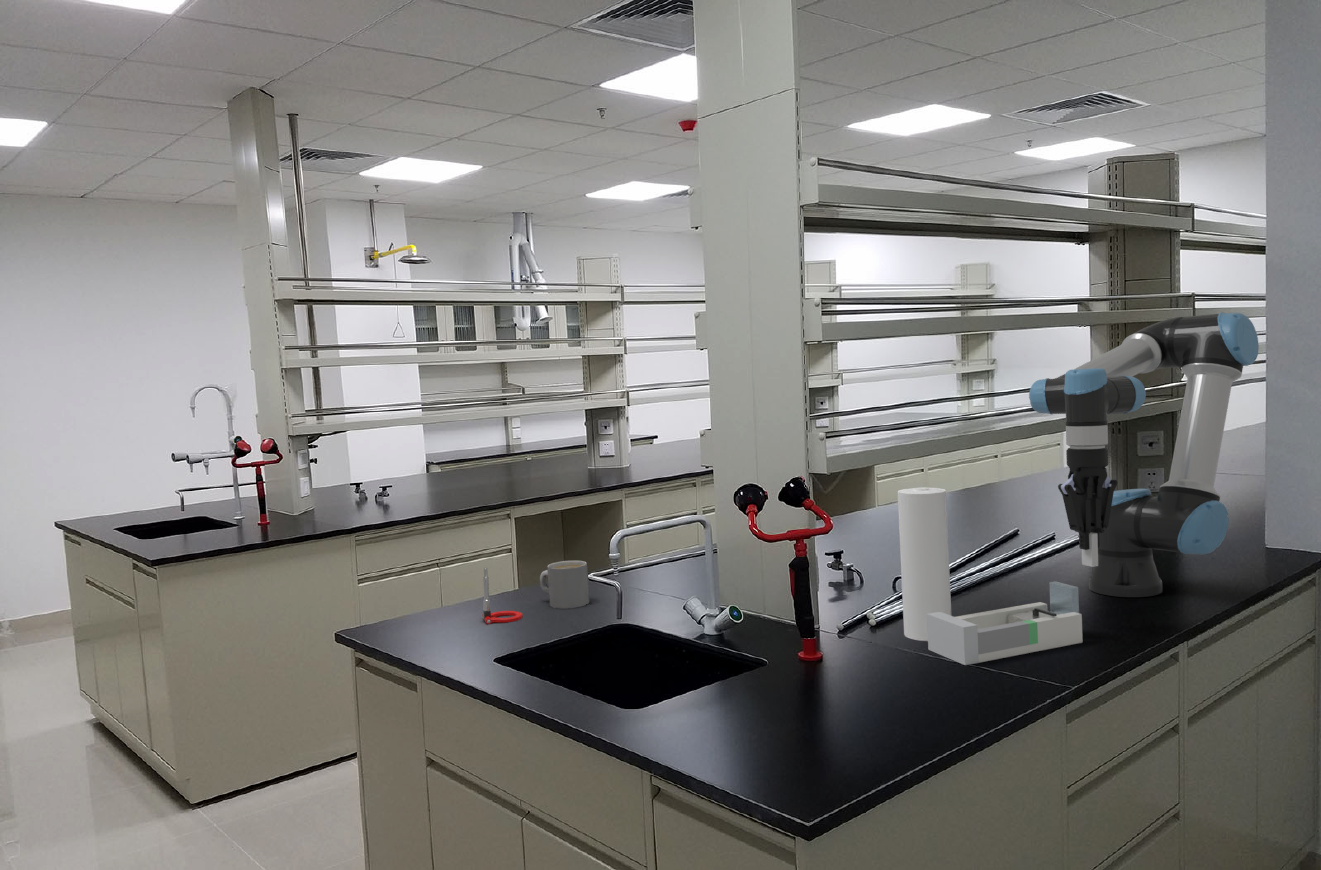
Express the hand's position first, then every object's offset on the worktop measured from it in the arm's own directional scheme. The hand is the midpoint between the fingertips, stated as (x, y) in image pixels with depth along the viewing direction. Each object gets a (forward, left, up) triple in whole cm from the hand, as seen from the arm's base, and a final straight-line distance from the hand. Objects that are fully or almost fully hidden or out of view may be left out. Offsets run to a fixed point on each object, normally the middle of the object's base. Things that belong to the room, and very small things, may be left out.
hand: (1089, 565), depth 183 cm
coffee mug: (+88, -84, -13) cm, 122 cm away
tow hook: (+105, -77, -13) cm, 131 cm away
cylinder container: (+29, -14, -13) cm, 35 cm away
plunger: (+14, +1, -11) cm, 18 cm away
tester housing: (+21, 0, -13) cm, 25 cm away
